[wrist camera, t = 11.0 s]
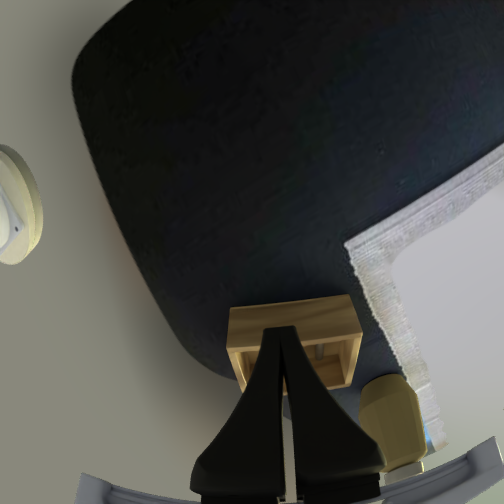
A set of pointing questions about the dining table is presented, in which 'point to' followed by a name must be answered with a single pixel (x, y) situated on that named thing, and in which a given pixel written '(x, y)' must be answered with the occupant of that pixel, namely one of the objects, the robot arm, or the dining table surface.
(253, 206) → the dining table surface
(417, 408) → the squeeze bottle
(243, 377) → the cutlery caddy
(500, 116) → the dining table surface
